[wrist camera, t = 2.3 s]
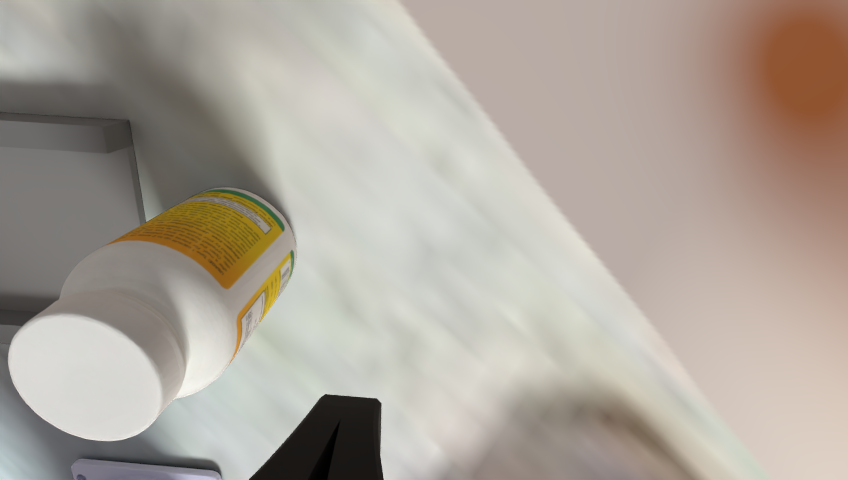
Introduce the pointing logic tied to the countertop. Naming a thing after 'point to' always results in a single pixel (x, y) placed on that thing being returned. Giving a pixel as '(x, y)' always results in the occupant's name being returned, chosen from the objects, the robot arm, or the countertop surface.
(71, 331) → the supplement bottle
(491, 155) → the countertop surface
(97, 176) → the stand
